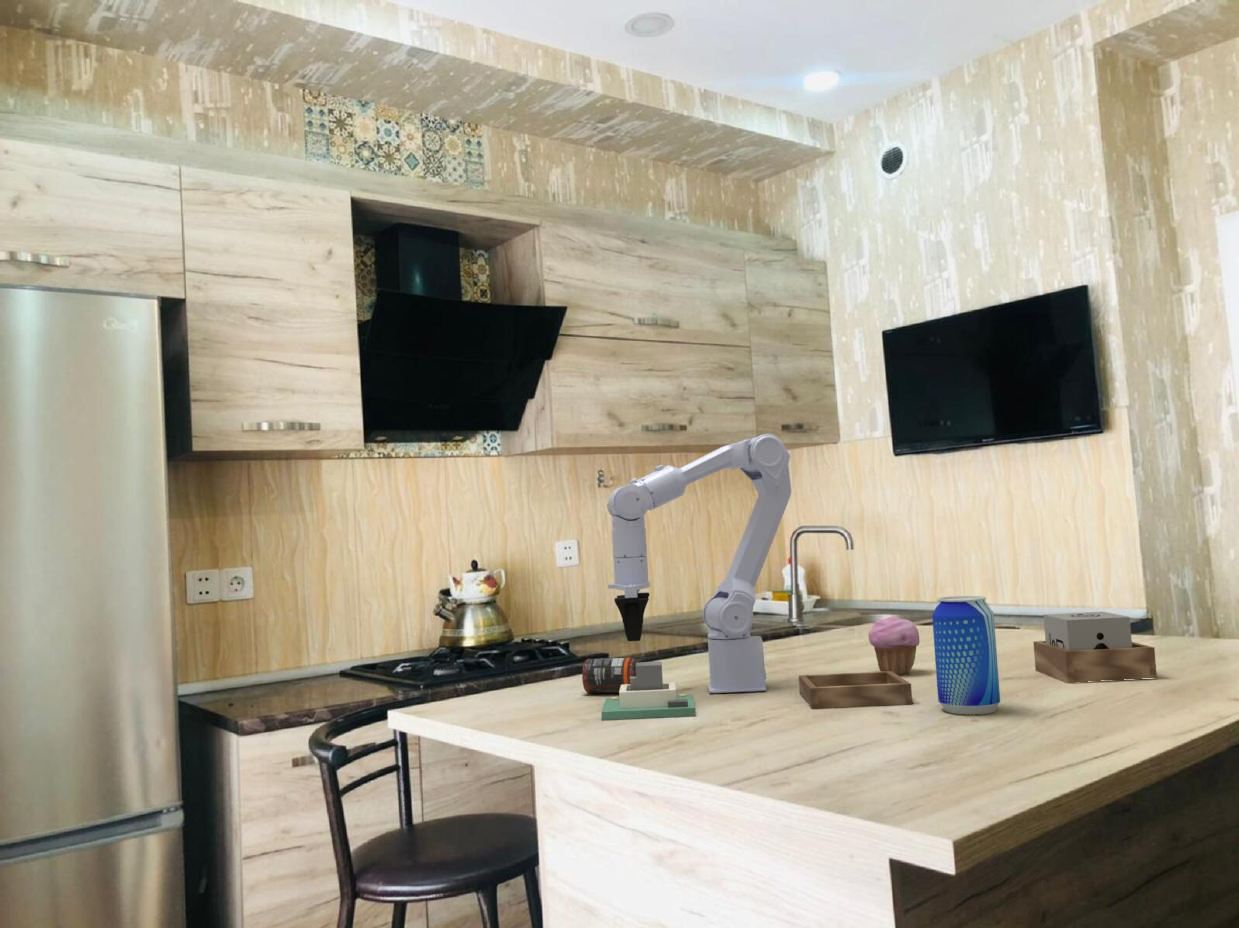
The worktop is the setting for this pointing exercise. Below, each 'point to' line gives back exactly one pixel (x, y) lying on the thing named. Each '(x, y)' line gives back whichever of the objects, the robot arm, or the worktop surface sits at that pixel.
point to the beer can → (966, 655)
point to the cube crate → (1095, 663)
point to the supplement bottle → (607, 674)
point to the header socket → (647, 696)
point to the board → (649, 709)
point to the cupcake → (894, 644)
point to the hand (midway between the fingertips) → (634, 638)
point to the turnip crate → (855, 689)
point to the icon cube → (1087, 631)
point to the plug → (647, 676)
